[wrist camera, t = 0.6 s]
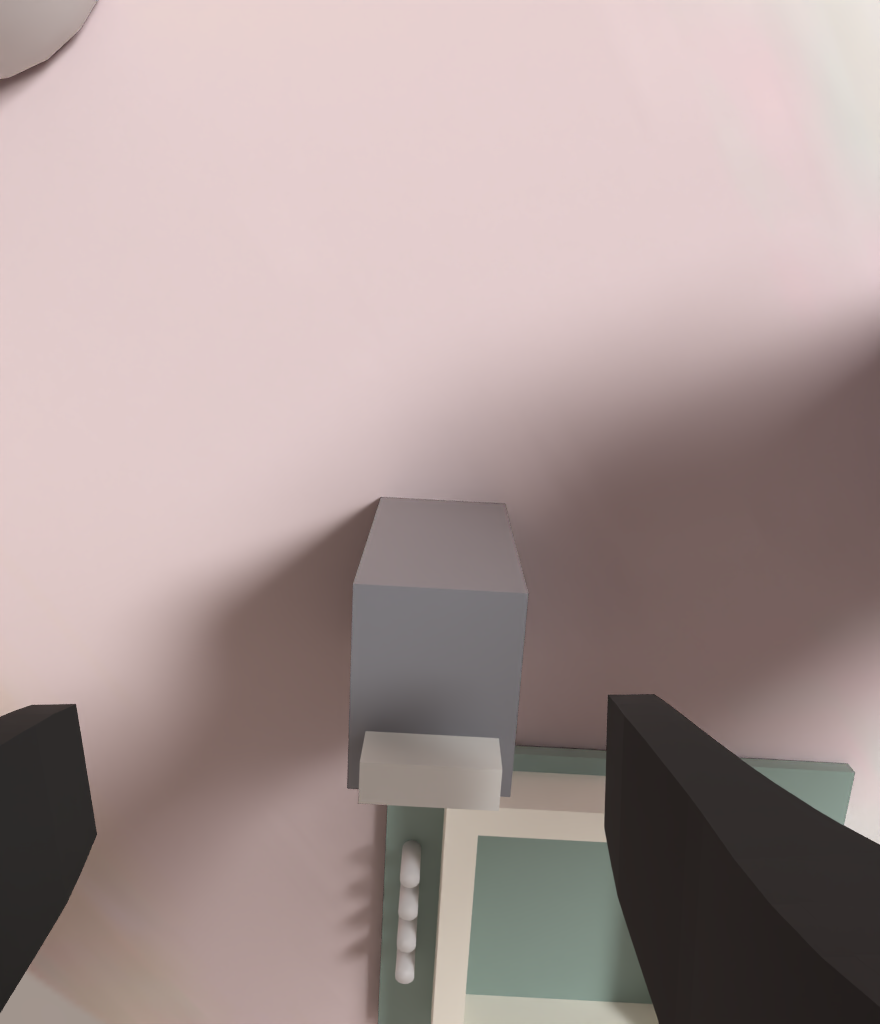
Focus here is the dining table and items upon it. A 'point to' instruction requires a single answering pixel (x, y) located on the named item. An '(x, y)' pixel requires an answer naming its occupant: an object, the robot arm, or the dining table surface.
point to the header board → (528, 899)
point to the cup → (37, 30)
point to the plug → (436, 656)
